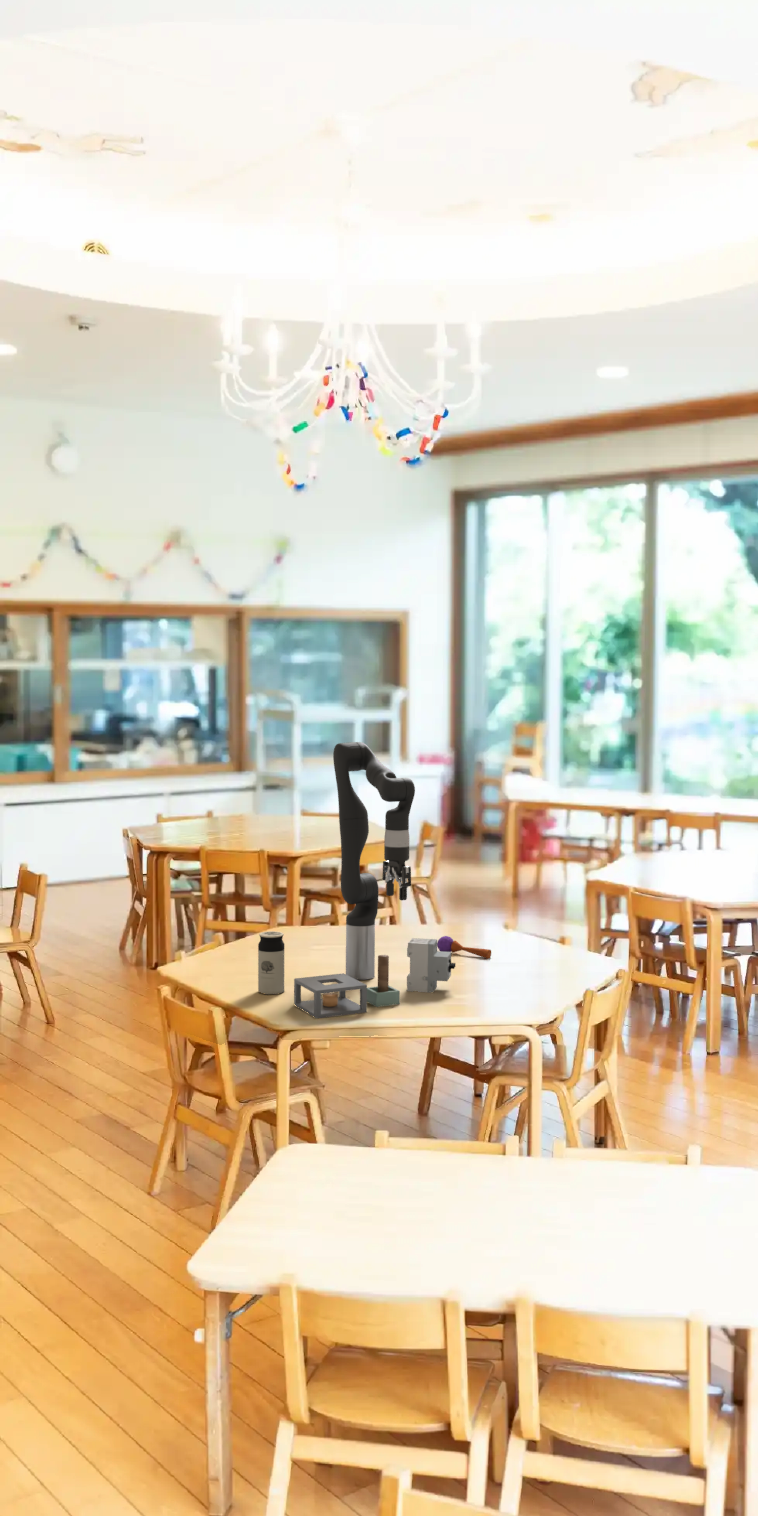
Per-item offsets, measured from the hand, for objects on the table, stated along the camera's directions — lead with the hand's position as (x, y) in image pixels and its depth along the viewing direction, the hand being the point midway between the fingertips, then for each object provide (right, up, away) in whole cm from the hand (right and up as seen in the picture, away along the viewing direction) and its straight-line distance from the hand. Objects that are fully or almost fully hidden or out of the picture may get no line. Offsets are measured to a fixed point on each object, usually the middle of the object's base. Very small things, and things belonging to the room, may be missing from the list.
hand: (396, 897), depth 409 cm
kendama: (+24, -26, +60) cm, 70 cm away
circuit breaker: (+11, -30, +11) cm, 34 cm away
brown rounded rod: (-4, -31, -5) cm, 31 cm away
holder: (-4, -31, -5) cm, 31 cm away
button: (-19, -30, -13) cm, 38 cm away
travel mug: (-38, -30, +7) cm, 49 cm away
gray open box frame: (-19, -31, -13) cm, 39 cm away
